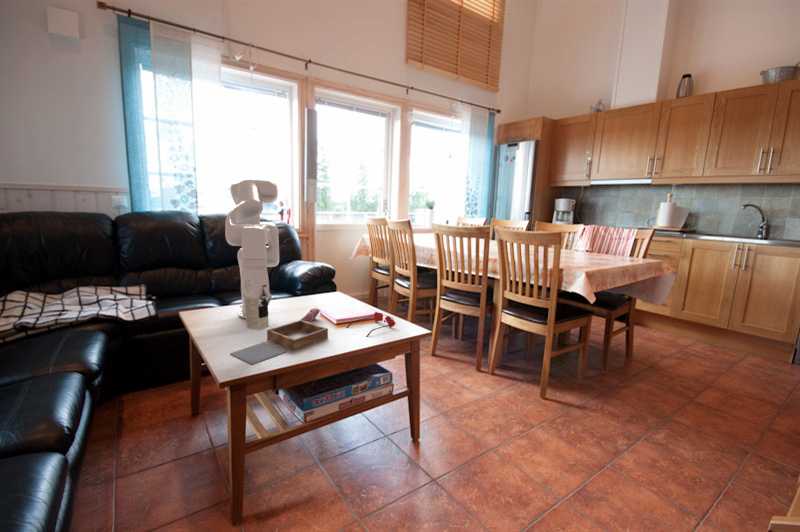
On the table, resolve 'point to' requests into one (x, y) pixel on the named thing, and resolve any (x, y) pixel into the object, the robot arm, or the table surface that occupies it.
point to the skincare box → (254, 315)
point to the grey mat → (257, 353)
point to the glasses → (379, 318)
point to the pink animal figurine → (311, 315)
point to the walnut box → (315, 336)
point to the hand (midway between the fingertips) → (256, 314)
